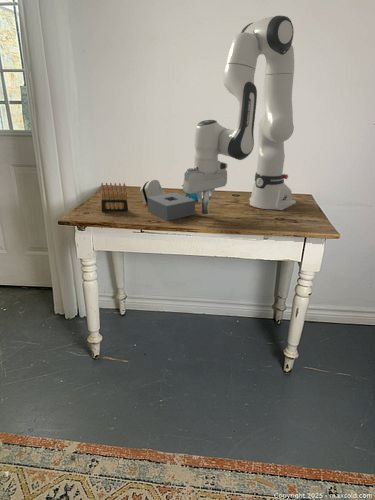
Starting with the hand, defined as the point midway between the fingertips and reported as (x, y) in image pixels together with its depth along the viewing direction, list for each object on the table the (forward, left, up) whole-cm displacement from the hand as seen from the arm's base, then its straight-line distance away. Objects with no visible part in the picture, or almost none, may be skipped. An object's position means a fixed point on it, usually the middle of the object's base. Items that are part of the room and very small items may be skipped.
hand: (205, 200), depth 137 cm
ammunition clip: (+27, -26, -7) cm, 38 cm away
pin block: (+9, -11, -7) cm, 16 cm away
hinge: (+5, -31, -7) cm, 32 cm away
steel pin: (0, 0, -5) cm, 5 cm away
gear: (-10, -22, -7) cm, 25 cm away
